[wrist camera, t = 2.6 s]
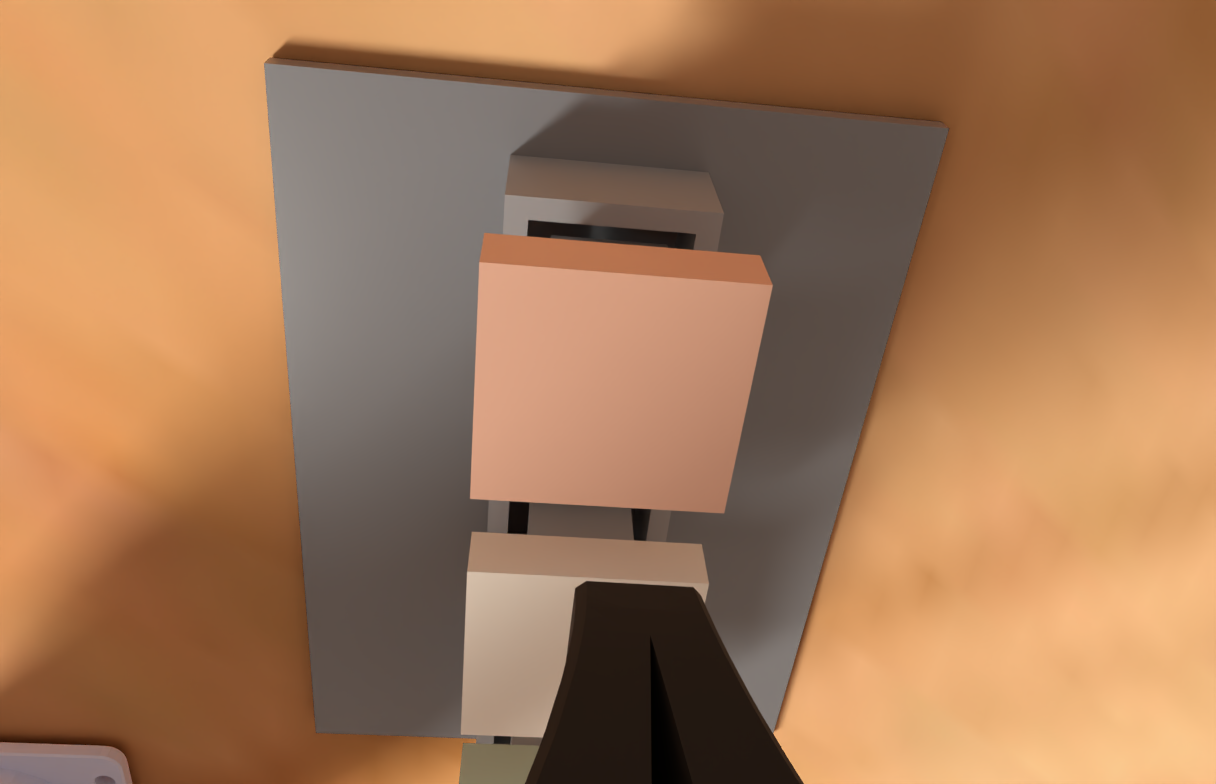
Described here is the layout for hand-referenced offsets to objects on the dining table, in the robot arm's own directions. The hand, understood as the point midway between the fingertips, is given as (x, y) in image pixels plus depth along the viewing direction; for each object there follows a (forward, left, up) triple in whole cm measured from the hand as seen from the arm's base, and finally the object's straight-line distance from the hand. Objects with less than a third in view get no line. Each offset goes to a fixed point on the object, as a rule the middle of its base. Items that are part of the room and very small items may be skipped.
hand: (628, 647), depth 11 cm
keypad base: (-5, 0, -10) cm, 11 cm away
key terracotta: (+1, 0, -8) cm, 8 cm away
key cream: (-5, 0, -8) cm, 9 cm away
